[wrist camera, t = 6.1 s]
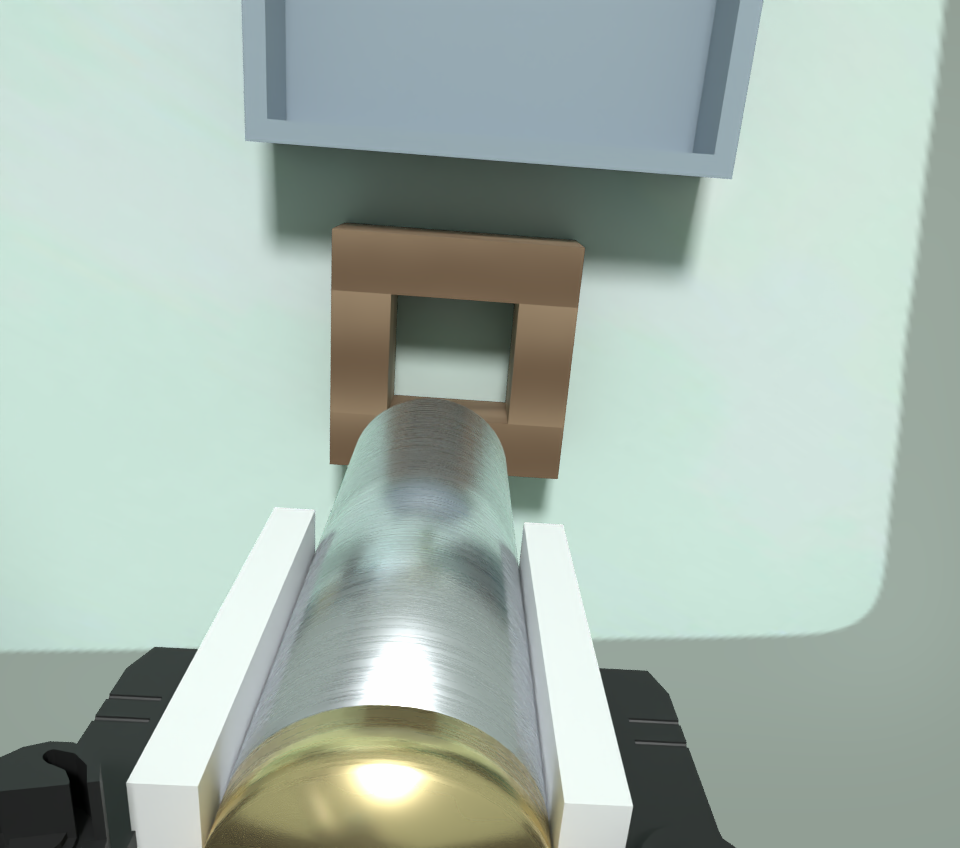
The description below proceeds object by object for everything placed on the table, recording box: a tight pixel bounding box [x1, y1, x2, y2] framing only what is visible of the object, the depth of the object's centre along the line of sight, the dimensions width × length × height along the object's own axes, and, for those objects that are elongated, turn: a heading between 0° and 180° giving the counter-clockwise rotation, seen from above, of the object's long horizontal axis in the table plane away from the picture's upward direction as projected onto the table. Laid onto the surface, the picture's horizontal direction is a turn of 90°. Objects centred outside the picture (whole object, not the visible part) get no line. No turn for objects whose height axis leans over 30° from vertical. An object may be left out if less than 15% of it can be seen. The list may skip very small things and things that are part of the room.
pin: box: [204, 398, 552, 848], centre depth 14 cm, size 4×4×12 cm
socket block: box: [330, 223, 585, 479], centre depth 33 cm, size 10×10×3 cm
